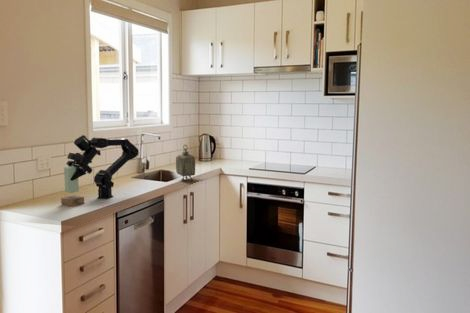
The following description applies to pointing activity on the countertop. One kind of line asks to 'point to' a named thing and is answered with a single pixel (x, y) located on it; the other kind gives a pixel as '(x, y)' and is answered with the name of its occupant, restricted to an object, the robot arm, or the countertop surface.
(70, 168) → the sage green block
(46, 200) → the countertop surface
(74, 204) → the walnut block
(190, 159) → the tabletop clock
